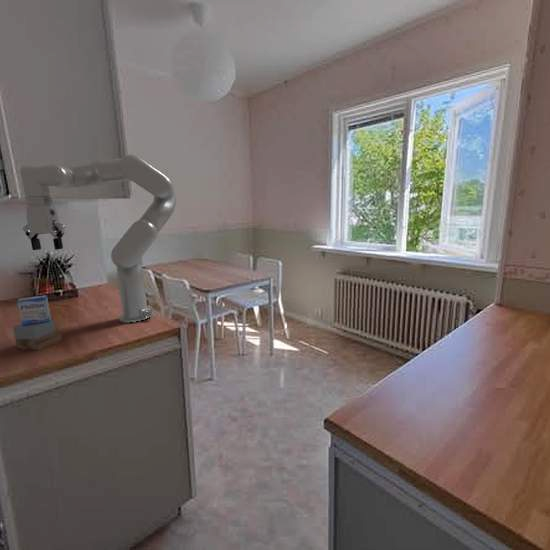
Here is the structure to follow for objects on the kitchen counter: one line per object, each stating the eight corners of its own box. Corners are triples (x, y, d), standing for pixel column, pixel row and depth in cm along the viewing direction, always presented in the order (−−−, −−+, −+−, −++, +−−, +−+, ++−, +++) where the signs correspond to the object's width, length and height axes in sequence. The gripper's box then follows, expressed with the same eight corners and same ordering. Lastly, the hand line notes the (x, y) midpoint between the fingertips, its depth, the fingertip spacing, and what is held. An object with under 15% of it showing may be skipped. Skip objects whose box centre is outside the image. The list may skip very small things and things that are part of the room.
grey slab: (55, 330, 119) (53, 319, 118) (36, 339, 111) (34, 327, 110) (35, 329, 120) (33, 319, 119) (15, 338, 112) (12, 327, 111)
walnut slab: (62, 340, 120) (60, 329, 119) (38, 351, 111) (36, 339, 111) (41, 339, 122) (39, 328, 121) (17, 349, 114) (15, 338, 113)
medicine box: (21, 326, 112) (16, 301, 110) (23, 322, 116) (18, 298, 114) (50, 321, 115) (45, 297, 114) (51, 318, 119) (47, 294, 117)
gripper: (67, 200, 125) (75, 247, 129) (28, 203, 129) (37, 248, 132) (50, 201, 118) (59, 250, 121) (9, 203, 121) (19, 251, 125)
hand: (48, 249), depth 127 cm, fingers open, 9 cm apart
